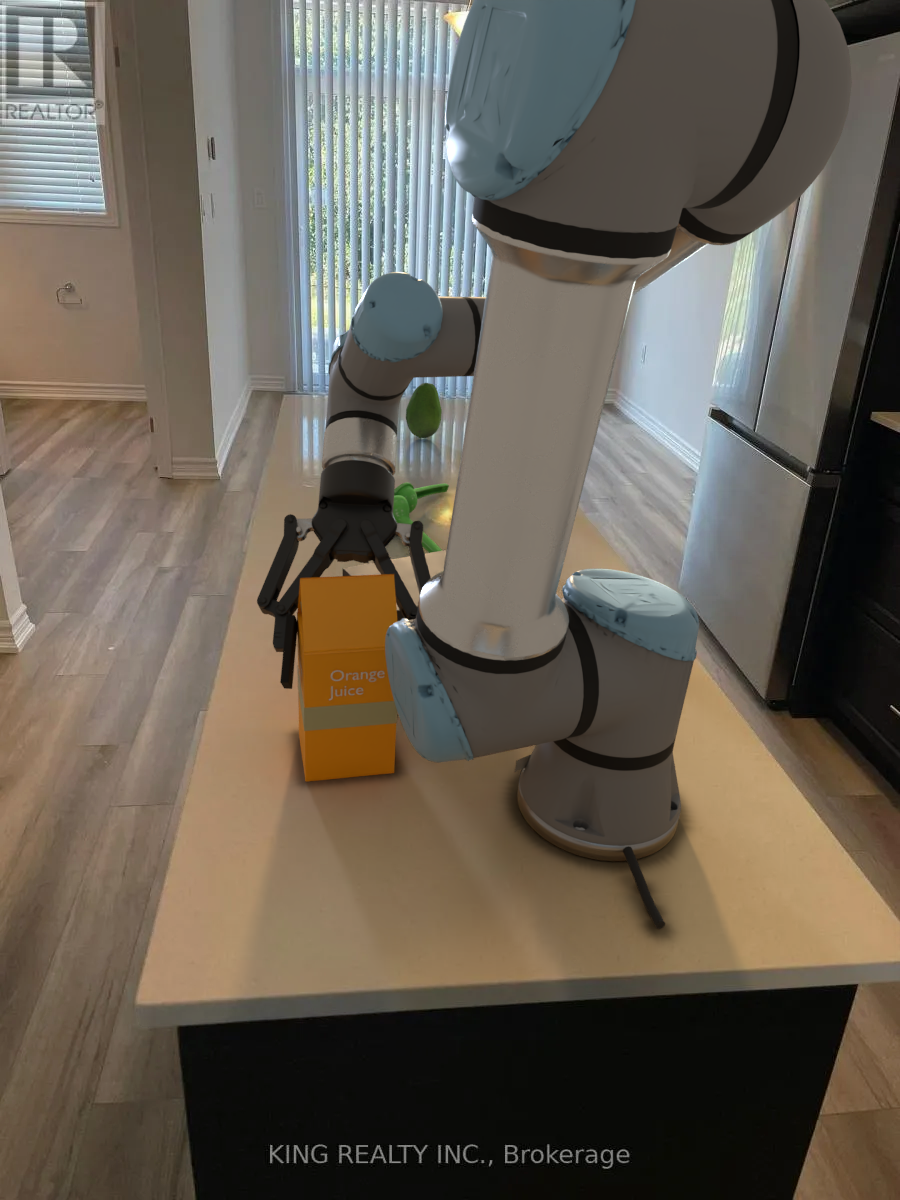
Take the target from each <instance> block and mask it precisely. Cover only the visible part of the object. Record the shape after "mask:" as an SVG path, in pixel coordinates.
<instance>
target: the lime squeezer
mask: <svg viewBox="0 0 900 1200" xmlns="http://www.w3.org/2000/svg"><path fill="white" fill-rule="evenodd" d="M449 487H450V485H449V484H448V483H446V482H445V483H436V484H431V485H426V486H421V487H417V488H416V487H414V485H413V484H412V483H411V482H408V481H406V482H402V483H400V484H399V485H397V487H395V489H394V507H393V515H394V518H395V520H396V522H397V523H403V524H412V523H413V522H414V521H413V520H412V519H411V517H410V514H411V513H412V512H413V511H415V509H416V508H417V505H418V499H422V498H424V497H427V496H431V495H436V494H443V493H447V492H448V490H449ZM422 546H423V550H425V551H426V552H427V553H431V552H437V551H442V550H443V549H442V548H441V547H440V546H439V545H438V544H437V543H436V542H435V541H434V540H432V538H430V536H428V534H426V533H425V531H423V538H422Z"/></svg>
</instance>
